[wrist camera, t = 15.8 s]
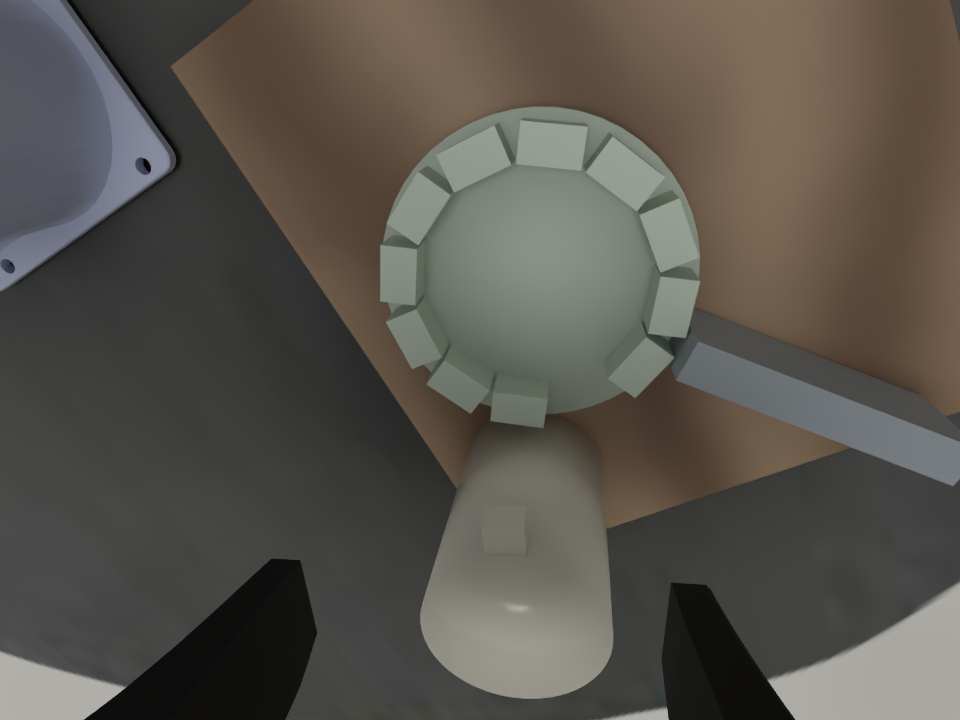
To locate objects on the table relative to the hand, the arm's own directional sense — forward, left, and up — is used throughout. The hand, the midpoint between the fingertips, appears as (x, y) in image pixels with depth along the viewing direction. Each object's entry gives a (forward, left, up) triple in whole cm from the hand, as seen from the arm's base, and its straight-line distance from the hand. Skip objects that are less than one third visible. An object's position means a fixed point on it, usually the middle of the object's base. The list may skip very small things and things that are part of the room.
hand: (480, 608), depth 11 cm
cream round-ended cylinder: (-1, -3, -9) cm, 10 cm away
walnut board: (+5, +3, -10) cm, 12 cm away
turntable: (+5, +1, -9) cm, 10 cm away
